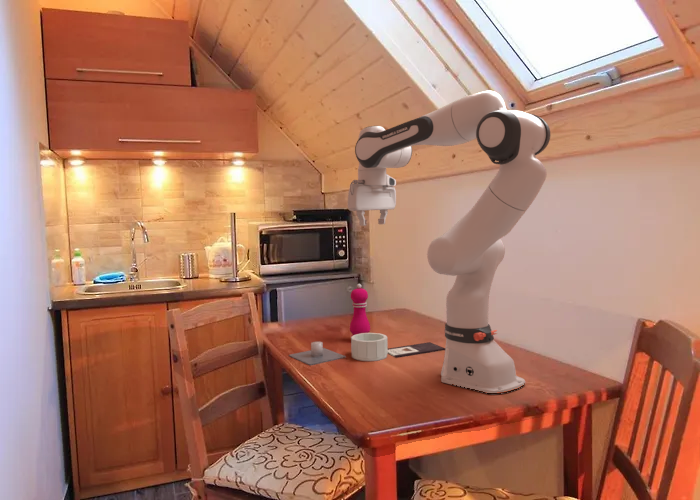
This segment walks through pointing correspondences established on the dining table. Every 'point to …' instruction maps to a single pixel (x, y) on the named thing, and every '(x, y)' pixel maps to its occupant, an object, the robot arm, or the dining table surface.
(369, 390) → the dining table surface
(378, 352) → the bowl
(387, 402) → the dining table surface
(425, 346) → the chocolate bar
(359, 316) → the pepper mill
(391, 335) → the dining table surface
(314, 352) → the lid
